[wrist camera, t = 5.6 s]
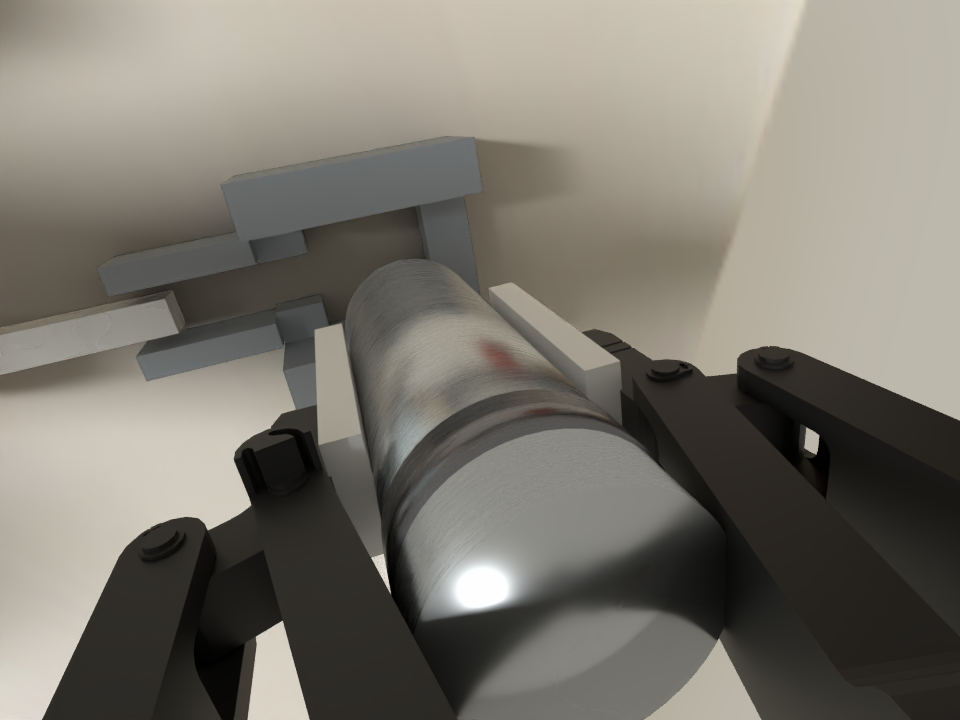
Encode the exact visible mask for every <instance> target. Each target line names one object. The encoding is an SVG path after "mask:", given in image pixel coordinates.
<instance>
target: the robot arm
mask: <svg viewBox="0 0 960 720" xmlns="http://www.w3.org/2000/svg"><path fill="white" fill-rule="evenodd" d="M488 290H489V297H490V303H491V307H492V308H493V309H494V310H495V311H496V312H497V313H498V314H499V315H501V316H502V317H503V318H504V319H505V320H506V321H507V322H508V323H509V324H510V325H511V326H512V327H513V328H514V329H515V330H516V331H517V332H519V333H520V334H521V335H522V336H523V337H524V338H525V339H526V340H527V341H528V342H529V343H530V344H531V345H532V346H533V347H534V348H535V349H537V350H538V351H539V352H540V353H541V354H542V355H543V356H544V357H545V358H546V359H547V360H548V361H549V362H550V363H551V364H552V365H553V366H555V367H556V368H557V369H558V370H559V371H560V372H561V373H562V374H563V375H564V376H565V377H566V378H567V379H568V380H569V381H570V382H571V383H573V384H574V385H575V386H576V387H577V388H578V389H579V390H580V391H581V392H582V393H583V394H584V395H585V396H586V397H587V398H588V399H589V400H591V401H592V402H593V403H595V404H596V405H598V406H599V407H601V408H602V409H603V410H605V411H606V412H608V413H609V414H610V415H611V416H612V417H613V418H614V419H615V420H616V421H617V422H618V423H619V424H621V425H622V426H623V427H624V428H625V429H626V430H627V431H628V432H629V433H630V434H631V435H632V436H633V437H635V438H636V439H637V440H638V441H639V442H640V443H641V444H642V445H643V446H644V447H645V448H646V449H647V450H648V451H649V452H650V453H651V454H652V455H653V456H654V457H655V458H656V459H657V460H658V461H659V462H660V464H661V465H662V467H663V468H664V470H665V471H666V472H667V473H668V474H669V475H670V476H671V477H672V478H673V479H674V480H675V481H676V482H677V483H678V484H679V485H680V486H682V487H683V488H684V489H685V490H686V491H687V492H688V493H689V494H690V495H691V496H692V497H693V498H694V499H695V500H696V501H697V502H698V503H700V504H701V505H702V506H703V507H704V508H705V509H706V510H707V511H708V512H709V513H710V514H711V515H712V516H713V517H714V518H715V519H716V520H717V521H718V523H719V524H720V526H721V527H722V529H723V530H724V532H725V533H726V574H725V614H724V629H723V631H722V633H721V635H720V637H719V639H720V640H721V642H722V644H723V646H724V648H725V650H726V652H727V654H728V656H729V658H730V660H731V662H732V663H733V666H734V667H735V669H736V671H737V673H738V675H739V677H740V679H741V681H742V683H743V685H744V686H745V689H746V690H747V693H748V694H749V696H750V698H751V700H752V702H753V704H754V706H755V708H756V710H757V712H758V714H759V715H760V718H761V719H762V720H960V421H959V420H957V419H954V418H952V417H950V416H947V415H945V414H943V413H940V412H938V411H936V410H934V409H931V408H929V407H927V406H924V405H922V404H920V403H917V402H915V401H913V400H910V399H908V398H906V397H903V396H901V395H899V394H896V393H894V392H892V391H889V390H887V389H885V388H882V387H880V386H877V385H875V384H873V383H871V382H868V381H866V380H864V379H861V378H859V377H857V376H854V375H852V374H850V373H847V372H845V371H842V370H840V369H838V368H836V367H833V366H831V365H829V364H827V363H824V362H822V361H819V360H817V359H815V358H812V357H810V356H808V355H806V354H803V353H801V352H798V351H794V350H791V349H785V348H780V347H776V346H770V347H768V346H767V347H760V348H758V349H752V350H749V351H746V352H744V353H742V354H741V355H740V356H739V357H738V359H737V374H729V375H718V376H707V377H706V376H705V375H704V374H702V372H701V371H700V370H699V369H698V368H696V367H695V366H693V365H692V364H690V363H687V362H683V361H680V360H668V359H666V360H654V361H652V360H651V359H649V358H648V357H646V356H645V355H643V354H642V353H640V352H639V351H637V350H636V349H634V348H631V346H630V345H628V344H627V343H625V342H622V340H621V339H619V338H618V337H616V336H615V335H613V334H611V333H608V332H604V331H600V330H596V329H593V330H589V331H586V332H582V333H581V332H580V331H578V330H577V329H576V328H574V327H573V326H572V325H570V324H569V323H567V322H566V321H565V320H563V319H562V318H561V317H559V316H558V315H556V314H555V313H554V312H552V311H551V310H550V309H548V308H547V307H545V306H544V305H543V304H541V303H540V302H539V301H537V300H536V299H535V298H533V297H532V296H530V295H529V294H528V293H526V292H525V291H524V290H522V289H521V288H519V287H518V286H517V285H515V284H514V283H513V282H511V283H506V284H502V285H498V286H494V287H490V288H488ZM315 360H316V390H317V405H313V406H309V407H306V408H302V409H298V410H294V411H291V412H287V413H283V414H281V415H280V417H279V418H278V419H277V420H276V421H275V423H274V424H273V425H272V426H271V429H268V430H265V431H263V432H261V433H259V434H257V435H254V436H253V437H251V438H250V439H248V440H247V441H245V442H244V443H243V444H242V445H241V446H240V447H239V448H238V449H237V451H236V452H235V456H234V461H235V464H236V466H237V469H238V471H239V474H240V476H241V479H242V481H243V484H244V486H245V488H246V491H247V493H248V496H249V498H250V502H251V506H250V507H249V508H248V509H246V510H245V511H244V512H242V513H241V514H239V515H238V516H236V517H234V518H232V519H231V520H229V521H227V522H225V523H223V524H221V525H219V526H217V527H215V528H213V529H210V530H207V528H206V526H205V524H204V523H203V522H202V521H201V520H200V519H198V518H192V517H183V518H177V519H172V520H169V521H167V522H164V523H160V524H157V525H155V526H153V527H151V529H148V530H146V531H144V532H143V533H141V534H140V535H139V536H138V537H137V538H136V539H134V540H133V541H132V542H131V543H130V544H129V545H127V547H126V548H125V549H124V551H123V552H122V554H121V555H120V556H119V558H118V560H117V562H116V564H115V567H114V569H113V571H112V573H111V575H110V577H109V579H108V581H107V583H106V586H105V588H104V590H103V592H102V594H101V596H100V598H99V600H98V603H97V605H96V607H95V609H94V611H93V613H92V615H91V617H90V619H89V622H88V624H87V626H86V628H85V630H84V632H83V634H82V636H81V639H80V641H79V643H78V645H77V647H76V649H75V651H74V653H73V655H72V658H71V660H70V662H69V664H68V666H67V668H66V670H65V672H64V675H63V677H62V679H61V681H60V683H59V685H58V687H57V689H56V691H55V694H54V696H53V698H52V700H51V702H50V704H49V706H48V708H47V711H46V713H45V715H44V717H43V719H42V720H247V718H248V710H249V702H250V694H251V686H252V678H253V670H254V661H255V653H256V645H257V644H256V636H258V635H259V634H261V633H262V632H264V631H266V630H267V629H269V628H271V627H272V626H274V625H276V624H277V623H279V622H281V621H282V620H283V623H284V627H285V630H286V634H287V638H288V641H289V645H290V649H291V652H292V656H293V660H294V663H295V667H296V671H297V675H298V678H299V682H300V686H301V689H302V693H303V697H304V700H305V704H306V708H307V711H308V715H309V719H310V720H458V719H457V717H456V715H455V714H454V712H453V710H452V708H451V706H450V704H449V702H448V700H447V699H446V697H445V695H444V693H443V691H442V689H441V687H440V686H439V684H438V682H437V680H436V678H435V676H434V674H433V673H432V671H431V669H430V667H429V665H428V663H427V661H426V659H425V658H424V656H423V654H422V652H421V650H420V648H419V646H418V645H417V643H416V641H415V639H414V637H413V635H412V633H411V632H410V630H409V628H408V626H407V624H406V622H405V620H404V618H403V617H402V615H401V613H400V611H399V609H398V607H397V605H396V604H395V602H394V600H393V598H392V596H391V594H390V592H389V591H388V589H387V587H386V585H385V583H384V581H383V579H382V577H381V576H380V574H379V572H378V570H377V568H376V566H375V564H374V563H373V561H372V559H371V557H374V556H378V555H381V554H384V551H383V546H382V538H381V517H380V512H379V507H378V502H377V496H376V491H375V486H374V477H373V472H372V466H371V461H370V456H369V451H368V445H367V440H366V435H365V430H364V424H363V419H362V414H361V409H360V404H359V398H358V393H357V388H356V383H355V377H354V372H353V367H352V362H351V356H350V352H349V348H348V345H347V341H346V338H345V334H344V331H343V327H342V323H341V324H336V325H332V326H328V327H324V328H320V329H316V330H315ZM806 427H807V428H809V429H811V430H813V431H814V432H816V433H817V434H819V435H820V436H819V446H818V452H817V455H815V454H813V453H811V452H809V451H808V450H806V449H805V448H804V445H805V434H806Z"/></svg>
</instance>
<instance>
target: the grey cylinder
mask: <svg viewBox="0 0 960 720" xmlns="http://www.w3.org/2000/svg"><path fill="white" fill-rule="evenodd" d="M345 331H346V337H347V343H348V348H349V352H350V356H351V362H352V367H353V372H354V377H355V383H356V388H357V393H358V398H359V404H360V409H361V414H362V419H363V424H364V430H365V435H366V440H367V445H368V451H369V456H370V461H371V466H372V472H373V477H374V486H375V491H376V496H377V502H378V507H379V512H380V517H381V538H382V546H383V551H384V557H385V562H386V568H387V573H388V579H389V584H390V590H391V596H392V598H393V600H394V602H395V604H396V605H397V607H398V609H399V611H400V613H401V615H402V617H403V618H404V620H405V622H406V624H407V626H408V628H409V630H410V632H411V633H412V635H413V637H414V639H415V641H416V643H417V645H418V646H419V648H420V650H421V652H422V654H423V656H424V658H425V659H426V661H427V663H428V665H429V667H430V669H431V671H432V673H433V674H434V676H435V678H436V680H437V682H438V684H439V686H440V687H441V689H442V691H443V693H444V695H445V697H446V699H447V700H448V702H449V704H450V706H451V708H452V710H453V712H454V714H455V715H456V717H457V719H458V720H644V719H645V718H646V717H648V716H650V715H651V714H652V713H653V712H655V711H656V710H657V709H659V708H660V707H661V706H663V705H664V704H665V703H666V702H667V701H668V700H670V699H671V698H672V697H673V696H674V695H675V694H676V693H677V692H678V691H679V690H680V689H681V688H682V687H683V686H684V685H685V684H686V683H687V682H688V681H689V680H690V679H691V678H692V676H693V675H694V674H695V673H696V672H697V670H698V669H699V668H700V666H701V665H702V664H703V663H704V661H705V660H706V658H707V657H708V655H709V654H710V652H711V651H712V649H713V648H714V646H715V644H716V643H717V640H718V639H719V637H720V635H721V633H722V631H723V629H724V614H725V574H726V533H725V532H724V530H723V529H722V527H721V526H720V524H719V523H718V521H717V520H716V519H715V518H714V517H713V516H712V515H711V514H710V513H709V512H708V511H707V510H706V509H705V508H704V507H703V506H702V505H701V504H700V503H698V502H697V501H696V500H695V499H694V498H693V497H692V496H691V495H690V494H689V493H688V492H687V491H686V490H685V489H684V488H683V487H682V486H680V485H679V484H678V483H677V482H676V481H675V480H674V479H673V478H672V477H671V476H670V475H669V474H668V473H667V472H666V471H665V470H664V468H663V467H662V465H661V464H660V462H659V461H658V460H657V459H656V458H655V457H654V456H653V455H652V454H651V453H650V452H649V451H648V450H647V449H646V448H645V447H644V446H643V445H642V444H641V443H640V442H639V441H638V440H637V439H636V438H635V437H633V436H632V435H631V434H630V433H629V432H628V431H627V430H626V429H625V428H624V427H623V426H622V425H621V424H619V423H618V422H617V421H616V420H615V419H614V418H613V417H612V416H611V415H610V414H609V413H608V412H606V411H605V410H603V409H602V408H601V407H599V406H598V405H596V404H595V403H593V402H592V401H591V400H589V399H588V398H587V397H586V396H585V395H584V394H583V393H582V392H581V391H580V390H579V389H578V388H577V387H576V386H575V385H574V384H573V383H571V382H570V381H569V380H568V379H567V378H566V377H565V376H564V375H563V374H562V373H561V372H560V371H559V370H558V369H557V368H556V367H555V366H553V365H552V364H551V363H550V362H549V361H548V360H547V359H546V358H545V357H544V356H543V355H542V354H541V353H540V352H539V351H538V350H537V349H535V348H534V347H533V346H532V345H531V344H530V343H529V342H528V341H527V340H526V339H525V338H524V337H523V336H522V335H521V334H520V333H519V332H517V331H516V330H515V329H514V328H513V327H512V326H511V325H510V324H509V323H508V322H507V321H506V320H505V319H504V318H503V317H502V316H501V315H499V314H498V313H497V312H496V311H495V310H494V309H493V308H492V307H491V306H490V305H489V304H488V303H487V302H486V301H485V300H484V299H483V298H481V297H480V296H479V295H478V294H477V293H476V292H475V291H474V290H473V289H472V288H471V287H470V286H469V285H468V284H467V283H466V282H465V281H463V280H462V279H461V278H460V277H459V276H458V275H457V274H456V273H455V272H453V271H452V270H451V269H449V268H447V267H446V266H444V265H442V264H439V263H437V262H434V261H430V260H426V259H417V258H416V259H403V260H398V261H394V262H391V263H388V264H386V265H384V266H382V267H380V268H378V269H377V270H375V271H373V272H372V273H371V274H370V275H368V276H367V277H366V278H365V279H364V280H363V281H362V282H361V283H360V285H359V286H358V287H357V289H356V290H355V292H354V294H353V296H352V297H351V300H350V302H349V305H348V308H347V312H346V319H345Z"/></svg>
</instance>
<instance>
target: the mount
mask: <svg viewBox="0 0 960 720" xmlns="http://www.w3.org/2000/svg"><path fill="white" fill-rule="evenodd" d="M221 188H222V191H223V194H224V197H225V200H226V203H227V206H228V209H229V212H230V214H231V217H232V220H233V223H234V226H235V229H236V232H232V233H227V234H222V235H217V236H213V237H208V238H203V239H198V240H193V241H188V242H183V243H178V244H173V245H169V246H164V247H159V248H154V249H149V250H144V251H139V252H134V253H129V254H125V255H120V256H115V257H113V258H112V259H110V260H109V261H107V262H106V263H104V264H103V265H101V266H100V267H98V268H97V269H96V270H97V272H98V275H99V277H100V279H101V281H102V283H103V286H104V288H105V290H106V292H107V294H108V297H109V296H114V295H118V294H123V293H128V292H132V291H137V290H141V289H146V288H151V287H155V286H160V285H164V284H169V283H174V282H178V281H183V280H187V279H192V278H197V277H201V276H206V275H210V274H215V273H220V272H224V271H229V270H234V269H238V268H243V267H247V266H252V265H256V263H257V260H258V262H259V264H261V263H265V262H270V261H275V260H279V259H284V258H289V257H293V256H298V255H302V254H307V253H308V251H307V245H306V241H305V238H304V234H303V231H302V230H303V229H308V228H312V227H317V226H322V225H327V224H332V223H336V222H341V221H346V220H351V219H356V218H360V217H365V216H370V215H375V214H380V213H384V212H389V211H394V210H399V209H404V208H408V207H413V206H415V209H416V214H417V219H418V224H419V228H420V233H421V238H422V243H423V248H424V253H425V258H426V260H430V261H434V262H437V263H439V264H442V265H444V266H446V267H447V268H449V269H451V270H452V271H453V272H455V273H456V274H457V275H458V276H459V277H460V278H461V279H462V280H463V281H465V282H466V283H467V284H468V285H469V286H470V287H471V288H472V289H473V290H474V291H475V292H476V293H477V294H478V295H479V296H480V291H479V285H478V279H477V273H476V267H475V261H474V255H473V249H472V243H471V237H470V231H469V225H468V219H467V213H466V207H465V201H464V196H466V195H471V194H475V193H480V192H483V190H482V184H481V177H480V171H479V164H478V158H477V151H476V145H475V138H474V137H450V136H446V137H441V138H435V139H430V140H424V141H419V142H414V143H408V144H403V145H398V146H392V147H387V148H381V149H376V150H371V151H365V152H360V153H354V154H349V155H344V156H338V157H333V158H328V159H322V160H317V161H311V162H306V163H301V164H295V165H290V166H285V167H279V168H274V169H268V170H263V171H258V172H252V173H247V174H241V175H236V176H233V177H232V178H230V179H229V180H227V181H226V182H224V183H222V184H221ZM480 297H481V296H480ZM481 298H482V297H481ZM484 300H485V299H484ZM485 301H486V300H485ZM486 302H487V301H486ZM487 303H488V302H487ZM488 304H489V303H488ZM489 305H490V304H489ZM490 306H491V305H490ZM341 323H342V327H343V331H344V334H345V338H346V341H347V337H346V331H345V320H341V321H337V322H333V323H329V321H328V317H327V314H326V311H325V307H324V304H323V300H322V297H321V294H319V295H315V296H310V297H306V298H302V299H298V300H293V301H289V302H285V303H280V304H276V309H272V310H268V311H263V312H259V313H255V314H251V315H246V316H242V317H238V318H233V319H229V320H225V321H221V322H216V323H212V324H208V325H203V326H199V327H195V328H191V329H186V330H182V331H180V332H179V333H178V334H174V335H169V336H165V337H161V338H156V339H152V340H148V341H147V343H146V344H145V345H144V347H143V348H142V349H141V351H140V352H139V354H138V355H137V356H136V359H137V361H138V363H139V365H140V367H141V370H142V372H143V374H144V376H145V379H146V381H150V380H154V379H158V378H162V377H167V376H171V375H175V374H179V373H183V372H187V371H191V370H195V369H199V368H203V367H207V366H211V365H215V364H219V363H223V362H227V361H231V360H235V359H239V358H243V357H247V356H251V355H255V354H259V353H264V352H268V351H272V350H276V349H280V348H283V346H284V341H285V353H284V366H283V372H284V375H285V378H286V381H287V384H288V387H289V390H290V392H291V395H292V398H293V401H294V404H295V407H296V410H298V409H302V408H306V407H309V406H313V405H317V390H316V360H315V330H316V329H320V328H324V327H328V326H332V325H336V324H341ZM347 345H348V343H347Z"/></svg>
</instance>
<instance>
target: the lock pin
mask: <svg viewBox="0 0 960 720" xmlns="http://www.w3.org/2000/svg"><path fill="white" fill-rule="evenodd" d="M184 324H185V320H184V318H183V315H182V313H181V310H180V308H179V305H178V303H177V300H176V298H175V295H174V293H173V290H169V291H164V292H160V293H155V294H151V295H146V296H142V297H137V298H133V299H128V300H123V301H119V302H114V303H110V304H105V305H101V306H96V307H91V308H87V309H82V310H78V311H73V312H69V313H64V314H60V315H55V316H50V317H46V318H41V319H37V320H32V321H28V322H23V323H19V324H14V325H9V326H5V327H0V375H3V374H7V373H11V372H16V371H20V370H24V369H28V368H33V367H37V366H41V365H45V364H50V363H54V362H58V361H63V360H67V359H71V358H75V357H80V356H84V355H88V354H92V353H97V352H101V351H105V350H109V349H114V348H118V347H122V346H127V345H131V344H135V343H139V342H144V341H148V340H152V339H156V338H161V337H165V336H169V335H174V334H178V333H179V332H180V330H181V329H182V327H183V326H184Z"/></svg>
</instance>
